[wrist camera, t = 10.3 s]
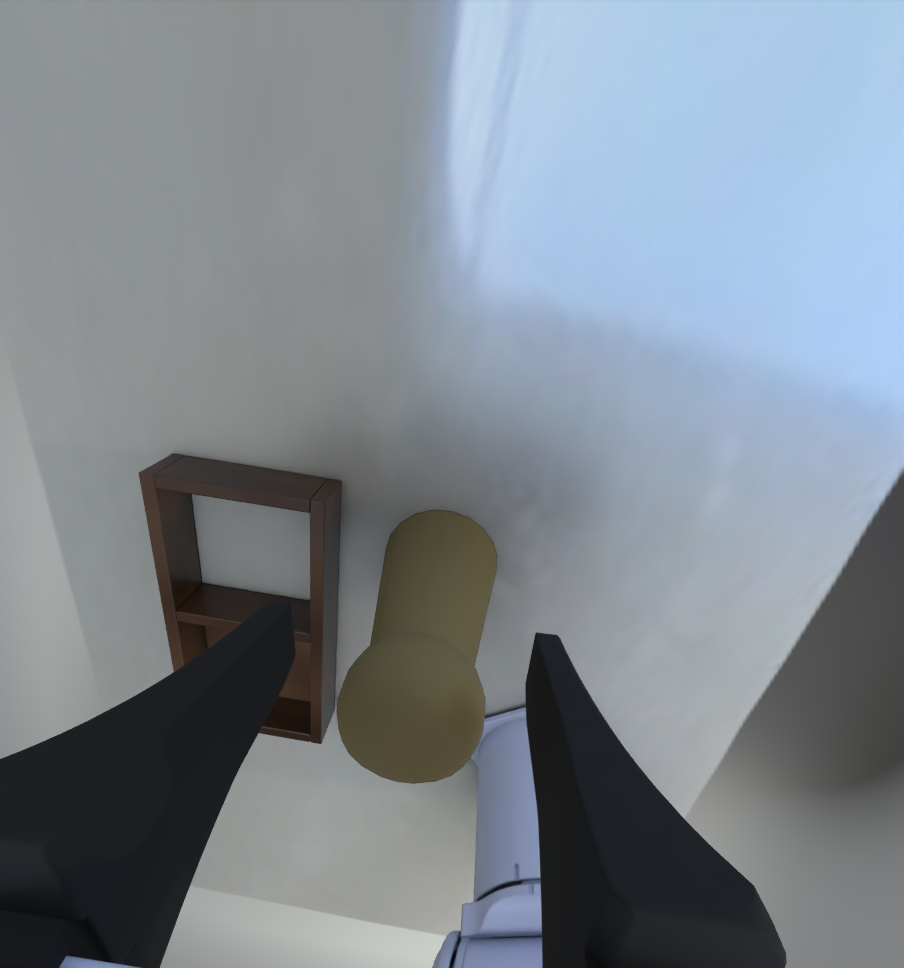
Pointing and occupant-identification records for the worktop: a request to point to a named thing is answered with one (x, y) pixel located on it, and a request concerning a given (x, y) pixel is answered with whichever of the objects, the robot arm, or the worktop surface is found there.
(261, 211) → the worktop surface
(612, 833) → the robot arm
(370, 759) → the cork
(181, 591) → the caddy
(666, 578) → the worktop surface
